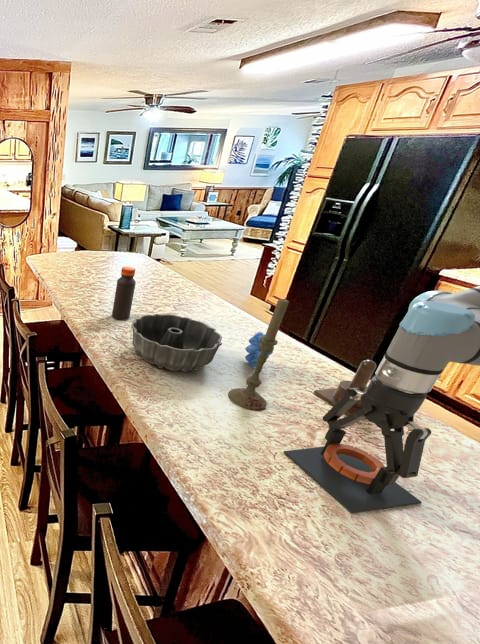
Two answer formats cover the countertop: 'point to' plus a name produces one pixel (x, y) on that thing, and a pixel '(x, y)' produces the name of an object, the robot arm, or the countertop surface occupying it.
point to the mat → (349, 482)
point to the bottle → (124, 294)
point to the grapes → (254, 349)
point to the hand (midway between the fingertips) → (349, 472)
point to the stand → (350, 386)
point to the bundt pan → (175, 341)
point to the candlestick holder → (260, 364)
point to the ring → (346, 470)
